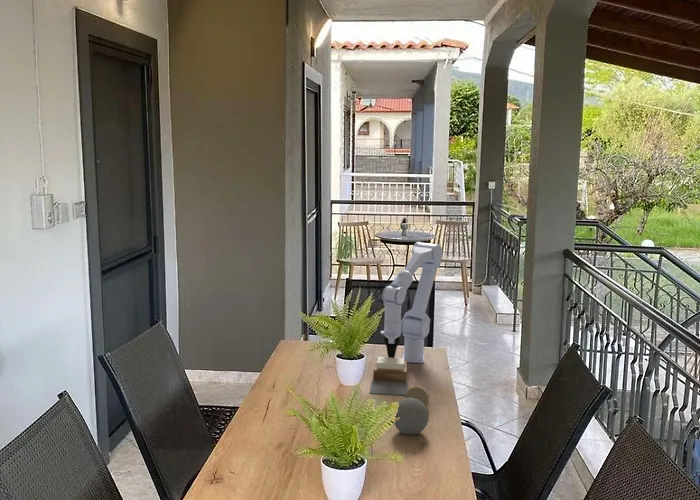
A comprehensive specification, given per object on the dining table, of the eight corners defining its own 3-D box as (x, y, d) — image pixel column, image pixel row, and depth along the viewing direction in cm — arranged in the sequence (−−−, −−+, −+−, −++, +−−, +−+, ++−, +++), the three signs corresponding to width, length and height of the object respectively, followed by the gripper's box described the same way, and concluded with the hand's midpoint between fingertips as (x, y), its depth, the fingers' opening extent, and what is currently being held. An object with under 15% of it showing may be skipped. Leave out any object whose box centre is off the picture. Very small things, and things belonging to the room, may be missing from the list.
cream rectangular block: (377, 362, 228) (378, 357, 228) (403, 363, 227) (404, 358, 227) (377, 368, 222) (377, 362, 222) (403, 369, 221) (403, 364, 221)
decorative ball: (405, 422, 190) (407, 389, 188) (434, 432, 183) (436, 398, 182) (384, 433, 182) (385, 399, 180) (414, 444, 176) (415, 409, 174)
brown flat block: (375, 369, 233) (375, 358, 232) (406, 371, 232) (406, 360, 231) (373, 381, 221) (373, 370, 220) (405, 383, 220) (406, 372, 219)
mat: (371, 381, 221) (371, 380, 221) (407, 383, 220) (407, 382, 220) (369, 393, 210) (369, 392, 210) (407, 395, 209) (407, 395, 209)
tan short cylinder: (431, 400, 207) (436, 380, 200) (421, 423, 200) (426, 403, 193) (408, 391, 209) (413, 371, 202) (398, 414, 202) (402, 393, 195)
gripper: (382, 314, 237) (381, 350, 239) (380, 325, 223) (378, 363, 225) (401, 315, 236) (400, 351, 239) (400, 326, 222) (399, 364, 224)
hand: (391, 357), depth 232 cm, fingers closed
